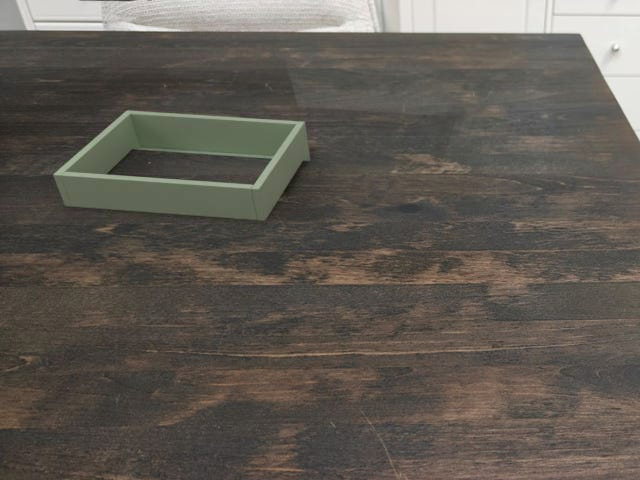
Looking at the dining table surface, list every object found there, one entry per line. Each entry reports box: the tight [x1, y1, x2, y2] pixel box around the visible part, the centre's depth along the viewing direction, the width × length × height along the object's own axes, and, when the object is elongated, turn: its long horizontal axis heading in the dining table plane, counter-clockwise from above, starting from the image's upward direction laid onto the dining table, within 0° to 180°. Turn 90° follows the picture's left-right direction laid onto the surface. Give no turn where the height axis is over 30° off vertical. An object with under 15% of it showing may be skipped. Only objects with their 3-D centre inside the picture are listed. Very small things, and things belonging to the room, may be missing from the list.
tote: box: [52, 110, 311, 222], centre depth 79 cm, size 21×16×5 cm
